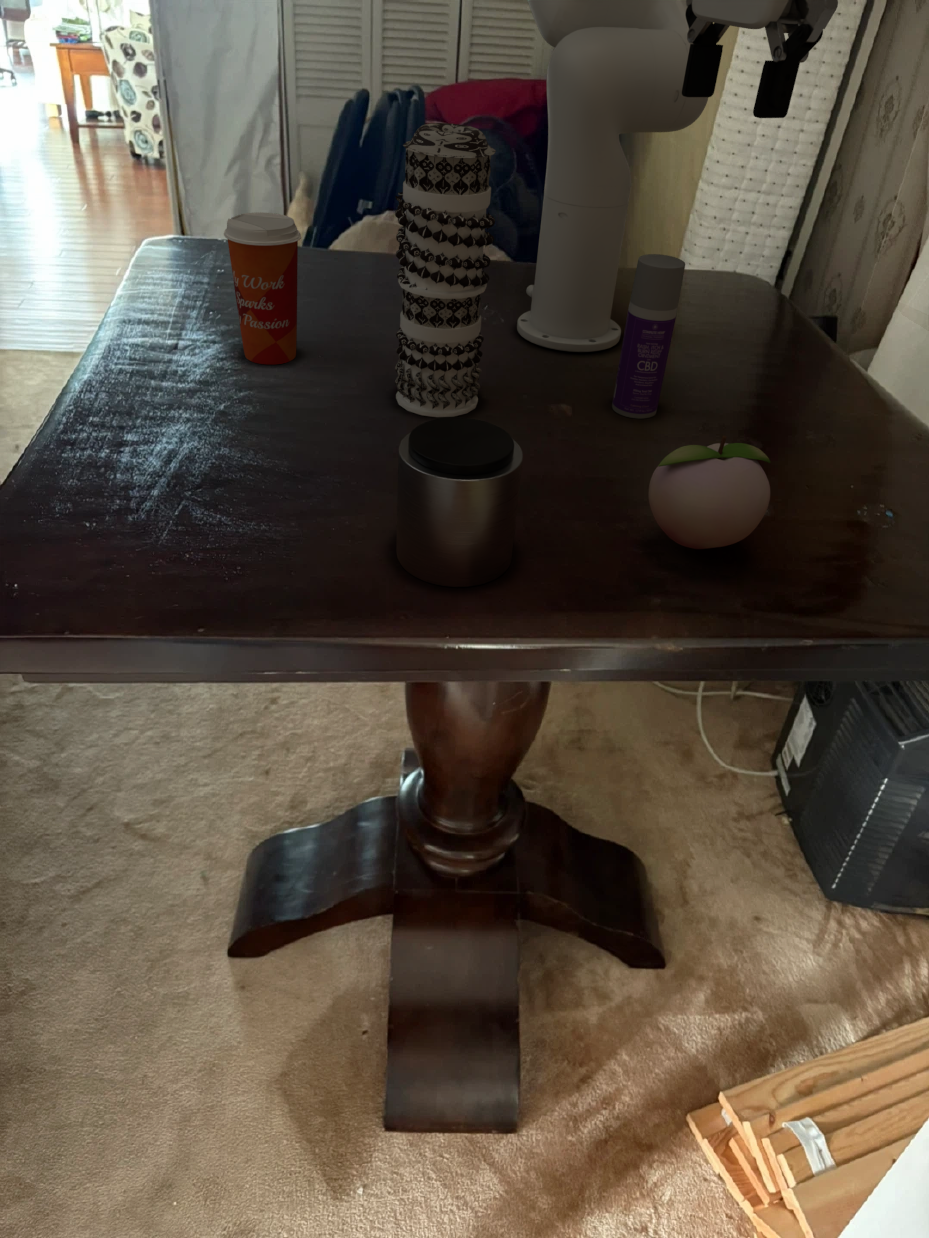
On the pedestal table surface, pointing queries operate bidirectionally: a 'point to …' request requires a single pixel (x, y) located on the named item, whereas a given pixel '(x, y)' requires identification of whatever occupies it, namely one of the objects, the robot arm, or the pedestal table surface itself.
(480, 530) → the lidded metal canister
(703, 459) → the decorative fruit
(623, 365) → the container
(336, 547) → the pedestal table surface
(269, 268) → the paper cup
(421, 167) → the decorative candle
